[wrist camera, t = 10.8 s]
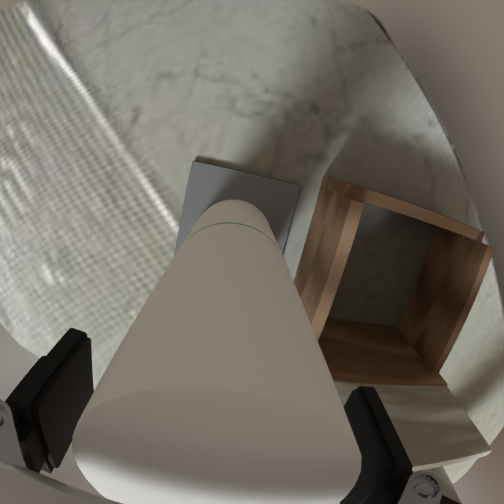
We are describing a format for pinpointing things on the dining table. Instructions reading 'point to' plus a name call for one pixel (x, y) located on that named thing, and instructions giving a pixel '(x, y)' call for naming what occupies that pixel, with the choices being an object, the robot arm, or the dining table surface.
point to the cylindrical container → (220, 384)
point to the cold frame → (409, 329)
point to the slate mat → (237, 197)
